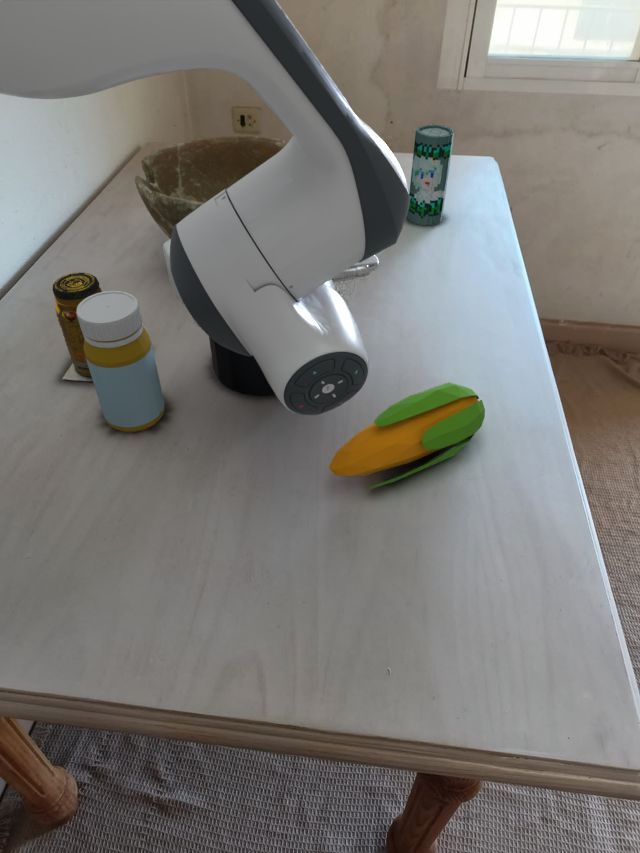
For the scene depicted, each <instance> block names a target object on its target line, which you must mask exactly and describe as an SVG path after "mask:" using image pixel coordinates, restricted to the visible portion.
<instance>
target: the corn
mask: <svg viewBox="0 0 640 853" xmlns="http://www.w3.org/2000/svg"><path fill="white" fill-rule="evenodd" d="M479 399H480V397H479V395H478V394H477V393H476V392H475V391H474V390H473V389H471V388H469V387H467V386H464V385H460V384H456V383H452V382H445V383H442V384H440V385H437V386H434V387H432V388H429V389H424V390H422V391H420V392H416V393H414V394H411V395H409V396H406V397H405V398H403V399H401V400H399V401H398V402H395V403H394V404H392V405H390V406H389V407H387V408H386V409H385V410H384V411H383V412H381V413H380V414H378V416H377V417H376V418H375V419H374V421H373V422H372V423H371V424H370V425H368V426H366V427H365V428H363V429H362V430H360V431H358V432H357V433H356V434H354V435H353V437H351V438H350V439H349V440H348V441H347V442H346V443H344V444H343V445H342V446H341V447H340V448H339V449H338V450H336V452H335V454H334V456H333V458H332V460H331V462H330V464H329V466H328V469H329V470H330V472H331V473H332V474H333V475H334V476H343V477H344V476H345V477H352V476H353V477H355V476H356V477H357V476H369V475H372V474H375V473H379V472H383V471H386V470H390V469H393V468H397V467H400V466H404V465H407V464H410V463H412V462H415V461H417V460H420V459H422V458H425V457H427V456H429V455H431V454H434V453H435V452H437V451H438V452H439V451H440V450H442V449H445V448H447V447H450V446H453V445H454V446H453V447H451V448H449V449H448V450H446V451H444V452H442V453H440V454H438V455H437V456H435V457H433V458H431V459H430V460H427V461H425V462H424V463H422V464H420V465H418V466H416V467H415V468H413V469H410V470H409V471H405V472H404V473H402V474H399V475H398V476H396V477H394V478H391V479H389V480H386V481H382V482H380V483H378V484H374V485H373V486H369V488H368V490H372V489H376V488H379V487H382V486H384V485H387V484H391V483H395V482H397V481H399V480H402V479H403V478H406V477H408V476H411V475H413V474H415V473H417V472H420V471H422V470H425V469H427V468H429V467H431V466H433V465H436V464H438V463H440V462H443V461H445V460H447V459H450V458H452V457H454V456H455V455H456V454H458V453H459V452H460V451H461V450H462V449H463V448H464V447H465V446H466V445H467V444H468V443H469V442H470V441H471V440H472V439H473V437H474V435H475V434H476V433H477V432H478V431H479V430H480V429H481V428H482V426H483V424H484V420H485V418H486V408H485V405H484V402H483V399H480V400H479ZM455 444H456V445H455Z"/></svg>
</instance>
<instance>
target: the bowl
mask: <svg viewBox="0 0 640 853" xmlns="http://www.w3.org/2000/svg"><path fill="white" fill-rule="evenodd" d="M288 142H289V141H286V142H285V140H284V139H278V138H275V137H270V136H261V135H218V136H204V137H200V138H199V137H198V138H194V139H191V140H187V141H181V142H179V143H174V144H171V145H166V146H163V147H160V148H157V149H155V150H152V151H150V153H148V154H146V155H145V156H144V157H143V158H142V159H141V168H142V171H143V173H144V176H145V179H144V178H142V177H141V176H139V175H135V177H134V183H135V186H136V191H137V192H138V194H139V196H140V199H141V200H142V202H143V204H144V205H145V208H146V210H147V211H148V213H149V214H150V216H151V218H152V219H153V221H154V222H155V223H156V225H157V226H158V227H159V228H160V230H161V231H162V232H163V233H164V235H165V236H167V238H169V239H171V236H172V232H173V229H174V226H175V224H178V223H179V222H180V221H181V220H182V219H184V218H185V217H186V216H188V215H189V214H190V213H192V212H193V211H195V210H196V209H197V208H199V207H200V206H201V205H203V204H204V203H205V202H207V201H208V200H210V199H211V198H213V197H214V196H215V195H217V194H218V193H220V192H221V191H222V190H224V189H227V188H229V187H230V186H232V185H233V184H234V183H236V182H237V181H239V180H240V179H242V178H243V177H244V176H246V175H247V174H249V173H250V172H251V171H253V170H254V169H256V168H257V167H259V166H260V165H261V164H263V163H264V162H266V161H267V160H268V159H270V158H271V157H273V156H274V155H276V154H277V153H278V152H280V151H281V150H282V149H283V148H284V147H285V146H286V145H287V143H288Z"/></svg>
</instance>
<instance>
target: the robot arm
mask: <svg viewBox="0 0 640 853" xmlns="http://www.w3.org/2000/svg"><path fill="white" fill-rule="evenodd" d="M193 70H214V71H215V70H216V71H223V72H226V73H229V74H231V75H234V76H236V77H238V78H240V79H242V81H244V82H245V83H246V84H247V86H249V87H250V89H251V90H253V91H254V93H255V94H256V95H257V96H258V97H259V98H260V99H261V100H262V102H263V103H264V104H265V105H266V106H267V107H268V108H269V110H270V111H271V112H272V113H273V114H274V115H275V117H276V118H277V119H278V120H279V121H280V123H281V124H282V125H283V126H284V127H285V128H286V129H287V131H288V132H289V133H290V134H291V135H292V136H291V138H290V139H289V140H288V141H287V142H288V143H287V145H286V146H285V147H284V148H283V149H282V150H281V151H280V152H278V153H277V154H276V155H274V156H273V157H271V158H270V159H268V160H267V161H266V162H264V163H263V164H261V165H260V166H259V167H257V168H256V169H254V170H253V171H251V172H250V173H249V174H247V175H246V176H244V177H243V178H242V179H240V180H239V181H237V182H236V183H234V184H233V185H232V186H230V187H229V188H227V189H224V190H222V191H221V192H220V193H218V194H217V195H215V196H214V197H213V198H211V199H210V200H208V201H207V202H205V203H204V204H203V205H201V206H200V207H199V208H197V209H196V210H195V211H193V212H192V213H190V214H189V215H188V216H186V217H185V218H184V219H182V220H181V221H180V222H179V223H178V224H175V226H174V229H173V232H172V236H171V239H170V238H169V239H167V241H165V242H164V243H163V244H162V250H163V255H164V261H165V266H166V271H167V275H168V278H169V282H170V284H171V287H172V289H173V291H174V294H175V295H176V297H177V298H178V300H179V301H180V303H182V304H183V305H184V307H185V308H186V310H187V312H188V313H189V314H190V316H191V318H192V322H193V323H194V325H195V326H196V327H198V328H201V330H202V331H203V332H204V333H205V334H206V335H207V336H208V338H209V337H210V338H212V339H213V340H214V341H215V342H217V343H218V344H219V345H221V346H223V347H225V348H227V349H229V350H232V351H234V352H236V353H239V354H242V355H245V356H250V357H252V355H253V356H254V358H255V359H256V361H257V363H258V364H259V366H260V368H261V370H262V371H263V373H264V375H265V377H266V379H267V381H268V383H269V384H270V386H271V388H272V389H273V391H274V393H275V396H276V397H277V399H278V400H279V402H280V403H281V404H282V405H283V407H285V408H286V409H287V410H288V411H289V412H290V413H294V414H297V415H301V416H315V415H321V414H324V413H328V412H331V411H333V410H334V409H336V408H338V407H340V406H341V405H343V404H345V403H346V402H348V401H349V400H351V399H352V398H353V397H354V396H355V395H357V393H359V392H360V391H361V390H362V388H363V386H364V385H365V383H366V382H367V379H368V376H369V372H370V362H369V357H368V352H367V348H366V346H365V343H364V340H363V337H362V334H361V332H360V329H359V327H358V324H357V322H356V320H355V318H354V316H353V314H352V312H351V310H350V308H349V307H348V304H347V303H346V301H345V300H344V298H343V297H342V296H341V295H340V294H339V292H338V291H336V286H335V284H334V283H340V282H347V281H353V280H355V279H358V278H363V277H367V276H369V275H370V272H372V271H375V270H377V269H378V268H379V264H380V263H379V262H380V261H379V258H378V257H377V256H376V255H378V254H379V253H381V252H383V251H385V250H387V249H389V248H390V247H392V246H394V245H395V244H397V242H398V239H399V238H400V235H401V233H402V231H403V228H404V225H405V222H406V219H407V213H408V209H409V204H410V199H411V198H410V195H409V186H408V182H407V179H406V176H405V173H404V171H403V168H402V167H401V165H400V163H399V161H398V160H397V158H396V156H395V154H394V153H393V152H392V150H391V149H390V148H389V146H388V145H387V144H386V142H385V141H384V140H383V139H382V138H381V137H380V136H379V134H377V133H376V132H375V130H373V129H372V127H370V126H369V125H368V124H367V123H366V122H365V121H364V120H363V119H361V118H360V117H359V116H358V115H357V114H356V113H355V112H354V110H353V109H352V107H351V106H350V104H349V102H348V100H347V99H346V97H345V96H344V95H343V93H342V91H341V90H340V89H339V87H338V85H337V84H336V83H335V81H334V80H333V78H332V77H331V76H330V74H329V73H328V72H327V70H326V68H325V67H324V65H323V64H322V63H321V61H320V60H319V58H318V57H317V56H316V55H315V53H314V52H313V50H312V48H311V47H310V46H309V44H308V43H307V41H306V40H305V39H304V37H303V36H302V35H301V33H300V31H299V30H298V29H297V28H296V26H295V25H294V23H293V21H292V20H291V18H289V16H288V14H287V13H286V12H285V10H284V9H283V7H282V6H281V5H280V4H279V2H278V0H0V95H5V96H10V97H17V98H22V99H30V100H31V99H36V100H38V99H39V100H61V99H62V100H63V99H70V98H78V97H83V96H89V95H93V94H96V93H100V92H103V91H105V90H109V89H112V88H116V87H118V86H122V85H126V84H128V83H132V82H135V81H138V80H143V79H147V78H150V77H155V76H159V75H165V74H170V73H171V74H172V73H176V72H177V73H178V72H185V71H193Z"/></svg>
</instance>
